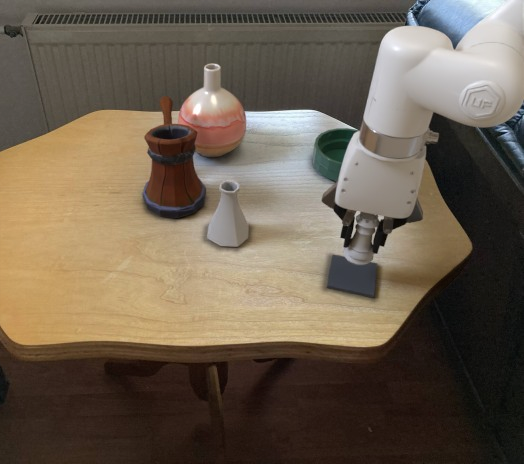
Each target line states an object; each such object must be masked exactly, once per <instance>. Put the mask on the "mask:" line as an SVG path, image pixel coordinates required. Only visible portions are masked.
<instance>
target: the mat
mask: <svg viewBox="0 0 524 464" xmlns="http://www.w3.org/2000/svg"><path fill="white" fill-rule="evenodd" d="M329 265H330V266H329V271H328V277H327V283H326V288H327V289H329V290H335V291H339V292H343V293H348V294H353V295H357V296H361V297H367V298H371V299H375V294H376V293H375V292H376V285H377V284H376V283H377V282H376V281H377V269H378V263H377V262H373V261H371V262H370V263H368V264H365V265H355V264H352V263H351V262H349V261H348V260H347V259H346V258H345V257H344V255H338V254H332V255H331V260H330V264H329Z"/></svg>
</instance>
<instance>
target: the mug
mask: <svg viewBox="0 0 524 464" xmlns="http://www.w3.org/2000/svg"><path fill="white" fill-rule="evenodd" d="M158 104H159V107H160V109H161V114H162V115H163V124H160V125H158V126H155V127H153V128H150V130H148V131H147V132H146V133H145V135H143V136H144V137H143V138H144V141H145V142H146V145H147V146H148V147H147V150H146V151H147V152H146V153H147V155H148V156H149V158H150V159H151V168H150V169H151V171H150V176H149V179H148V181H146V182H145V184H144V187H143V190H142V193H141V194H142V198H143V199H142V200H143V201H144V203H145V206H146V207H147V210H148V211H149V212H151V213H154V214H155V215H158V216H159V217H163V218H172V219H179V218H182V217H183V218H184V217H186V216H189V215H192V214H194V213H195V212H197V211H198V210H200V209H201V208H203V207H204V205H205V199H206V195H207V188H206V185H204V183H203V182H202V180H201V178H199V176H198V174H197V172H196V168H195V164H194V162H195V161H194V155H195V153H196V152H195V150H196V147H195V145H194V144H195V141H196V137H197V133H198V132H197V131H196V130H194V129H193V128H191V127H190V126H188V125H182V124H178V123H173V117H172V112H173V105H174V101H173V99H172V98H171V97H170V96H169V95H165V96H161V98H160V100H159V101H158Z"/></svg>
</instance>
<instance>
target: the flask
mask: <svg viewBox="0 0 524 464" xmlns="http://www.w3.org/2000/svg"><path fill="white" fill-rule="evenodd" d="M239 191H240V183H239V182H237V181H235V180H234V179H233V180H232V179H224V180H223V181H222V182H220V183H219V192H221V193H220V199H219V203H218V205H217V207H216V209H215V211H214V214H213V216H212V218H211V220H210V222H209V224H208V225H207V233H206V234H207V235H206V239H207V240H209V241H211V242H213V243H214V244H216V245H218V246H220V247H232V248H233V247H235V248H236V247H240V246H241V245H242V244H243V243H244V242H245V241H246V240H248V239H249V232H250V231H249V227H250V226H249V224H248V221H247V219H246V217H245V215H244V213H243V210H242V207H241V204H240V202H239V196H238V192H239Z"/></svg>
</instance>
